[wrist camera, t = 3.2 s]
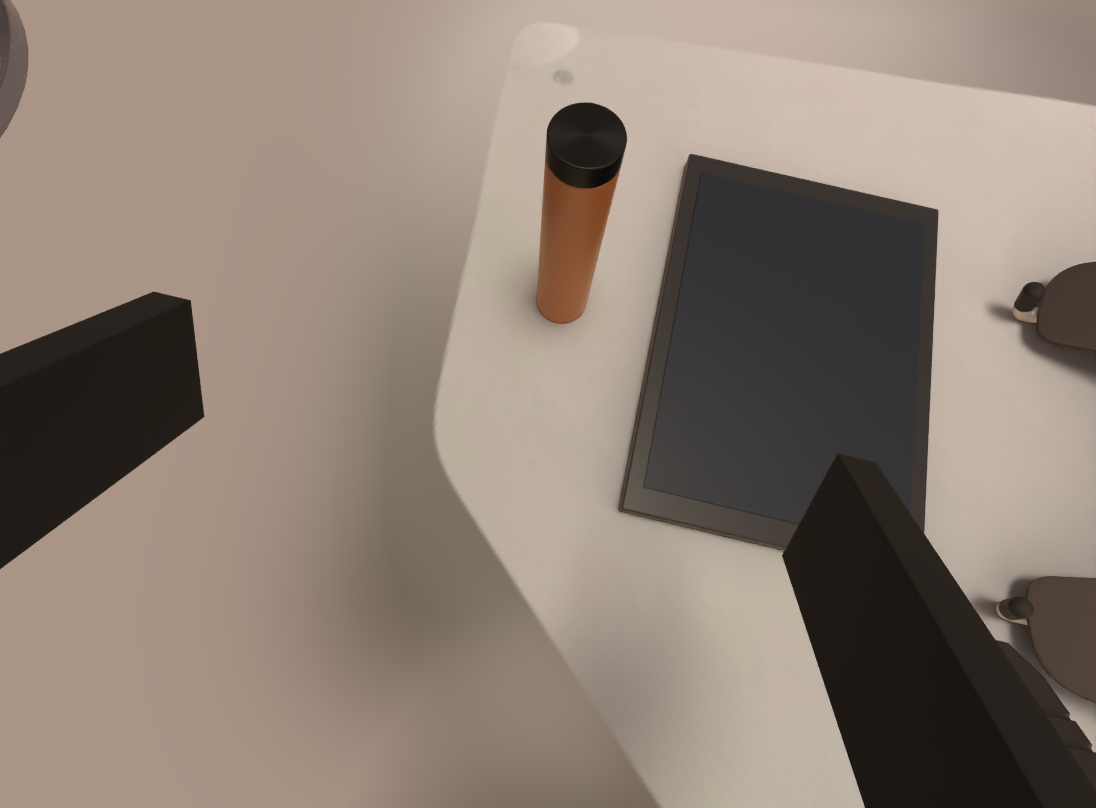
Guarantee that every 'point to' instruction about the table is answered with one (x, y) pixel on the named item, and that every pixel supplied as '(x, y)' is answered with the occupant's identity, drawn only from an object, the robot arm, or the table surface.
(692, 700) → the table surface
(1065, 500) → the table surface
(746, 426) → the tablet
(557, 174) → the copper cylinder
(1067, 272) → the laptop tray
